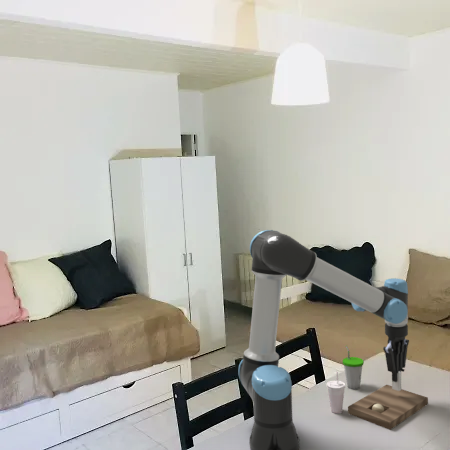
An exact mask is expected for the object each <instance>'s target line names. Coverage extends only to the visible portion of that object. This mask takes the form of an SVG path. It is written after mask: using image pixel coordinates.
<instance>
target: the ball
mask: <svg viewBox="0 0 450 450" xmlns="http://www.w3.org/2000/svg"><path fill="white" fill-rule="evenodd" d="M372 410H373V411H376V412H379V413H383V412H384V407H383V406H382V405H381V404H375V405H373V407H372Z"/></svg>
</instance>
